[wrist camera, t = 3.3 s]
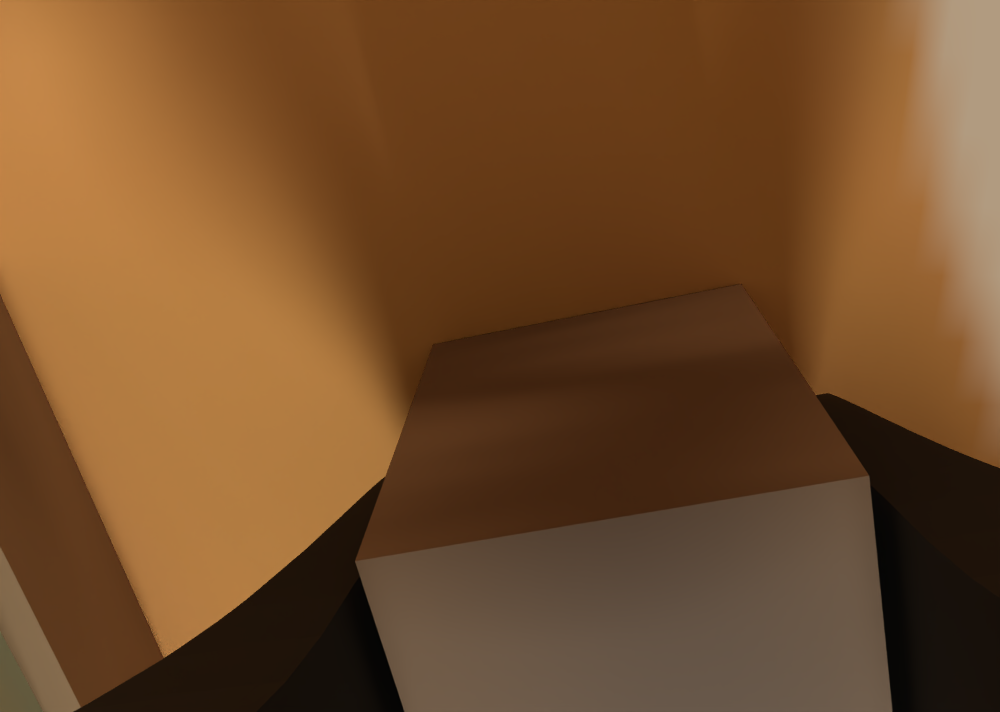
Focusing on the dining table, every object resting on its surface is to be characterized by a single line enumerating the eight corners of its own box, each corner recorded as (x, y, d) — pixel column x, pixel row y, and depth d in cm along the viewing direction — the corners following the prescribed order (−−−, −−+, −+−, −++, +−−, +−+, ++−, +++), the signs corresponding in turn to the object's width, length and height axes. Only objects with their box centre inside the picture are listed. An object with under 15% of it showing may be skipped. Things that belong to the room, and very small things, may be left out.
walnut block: (500, 596, 13) (471, 915, 9) (433, 344, 12) (354, 561, 7) (778, 553, 13) (907, 866, 8) (741, 284, 11) (867, 475, 7)
